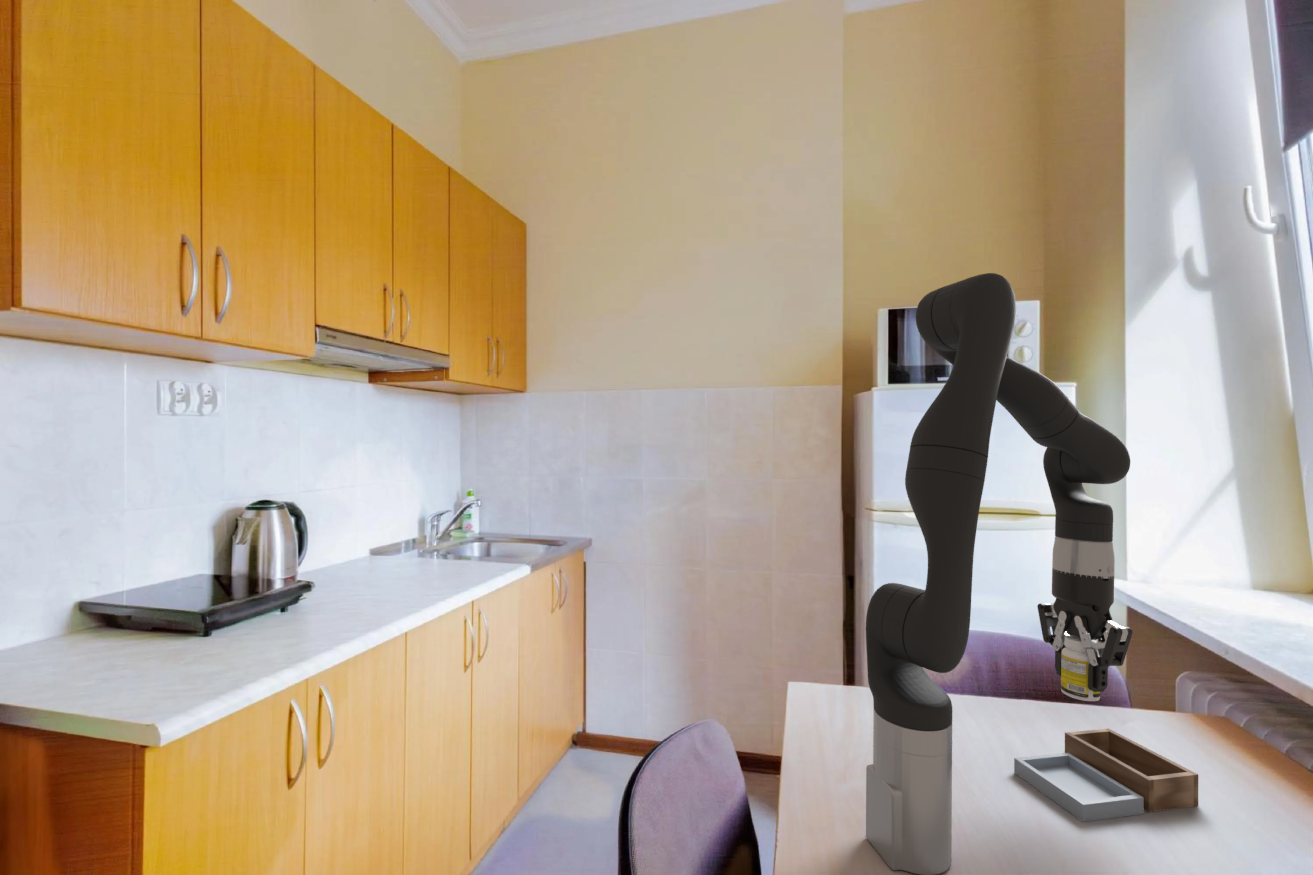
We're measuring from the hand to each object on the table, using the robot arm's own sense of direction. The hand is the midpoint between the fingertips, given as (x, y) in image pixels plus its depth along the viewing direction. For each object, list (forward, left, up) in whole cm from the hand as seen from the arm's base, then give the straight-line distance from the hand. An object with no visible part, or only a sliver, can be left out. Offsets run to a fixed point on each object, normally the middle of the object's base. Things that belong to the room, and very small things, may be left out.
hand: (1080, 682), depth 86 cm
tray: (-1, 0, -16) cm, 16 cm away
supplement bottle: (0, 0, -2) cm, 2 cm away
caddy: (+10, +1, -16) cm, 19 cm away
